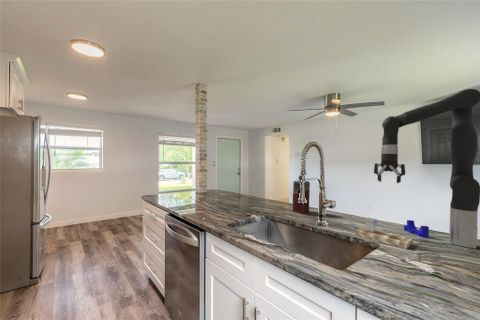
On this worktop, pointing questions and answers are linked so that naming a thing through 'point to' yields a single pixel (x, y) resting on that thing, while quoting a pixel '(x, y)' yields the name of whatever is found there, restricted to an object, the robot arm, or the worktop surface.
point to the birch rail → (385, 238)
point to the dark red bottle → (296, 190)
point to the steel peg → (370, 225)
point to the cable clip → (412, 229)
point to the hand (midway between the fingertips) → (388, 182)
